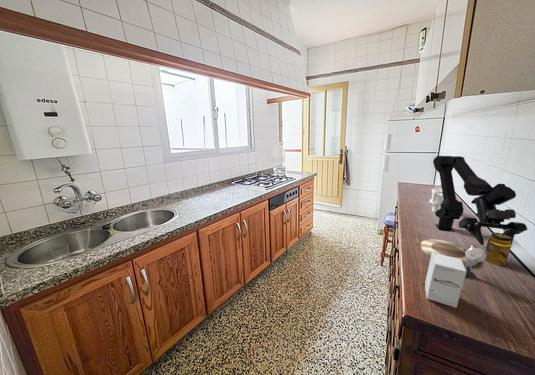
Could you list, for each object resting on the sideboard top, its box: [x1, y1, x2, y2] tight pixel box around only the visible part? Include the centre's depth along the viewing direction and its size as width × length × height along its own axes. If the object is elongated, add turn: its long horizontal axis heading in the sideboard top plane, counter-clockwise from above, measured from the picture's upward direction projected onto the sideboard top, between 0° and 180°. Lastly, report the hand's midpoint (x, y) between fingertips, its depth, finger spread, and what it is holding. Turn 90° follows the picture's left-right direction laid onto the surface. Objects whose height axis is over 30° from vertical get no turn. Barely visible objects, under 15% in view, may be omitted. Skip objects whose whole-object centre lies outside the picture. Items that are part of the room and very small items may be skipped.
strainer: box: [429, 188, 443, 213], centre depth 135 cm, size 7×7×15 cm
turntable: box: [420, 238, 478, 267], centre depth 89 cm, size 18×18×2 cm
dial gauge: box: [462, 244, 486, 282], centre depth 76 cm, size 8×5×12 cm, turn 160°
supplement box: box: [424, 253, 467, 309], centre depth 66 cm, size 7×7×13 cm
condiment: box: [484, 232, 512, 267], centre depth 83 cm, size 7×8×12 cm
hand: (495, 246), depth 82 cm, fingers open, 7 cm apart
